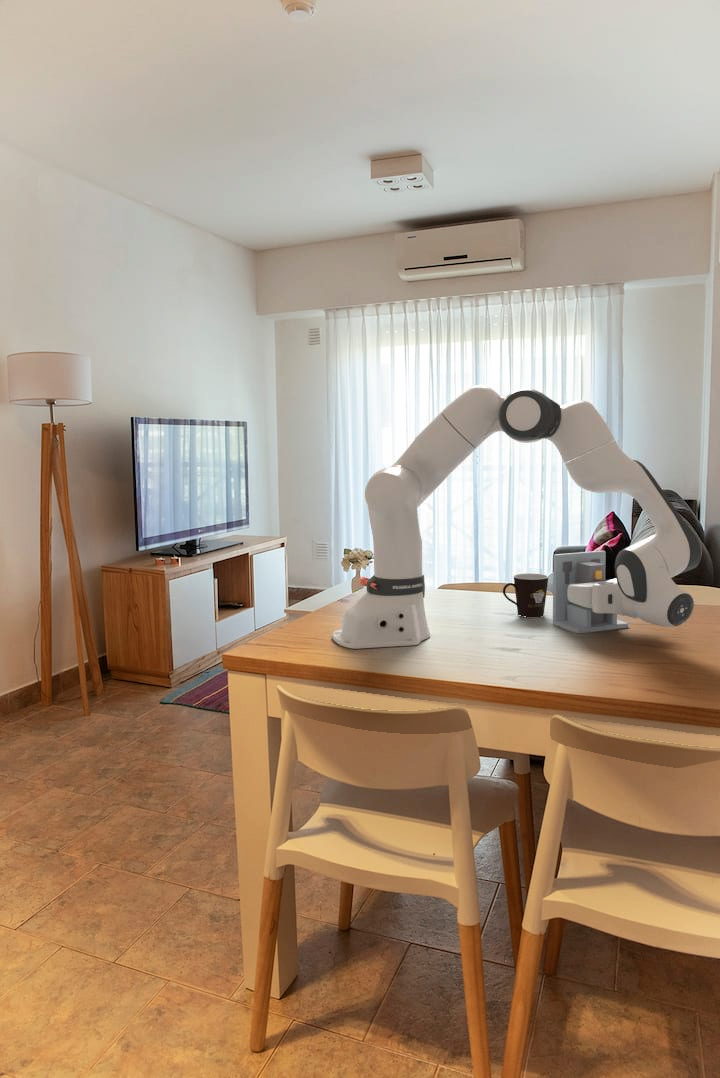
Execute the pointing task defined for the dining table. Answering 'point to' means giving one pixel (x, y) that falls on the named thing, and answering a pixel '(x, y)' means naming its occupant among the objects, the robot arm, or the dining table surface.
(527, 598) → the coffee mug
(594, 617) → the grey tall rectangular block
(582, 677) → the dining table surface
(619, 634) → the dining table surface
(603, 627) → the grey l-shaped stand
